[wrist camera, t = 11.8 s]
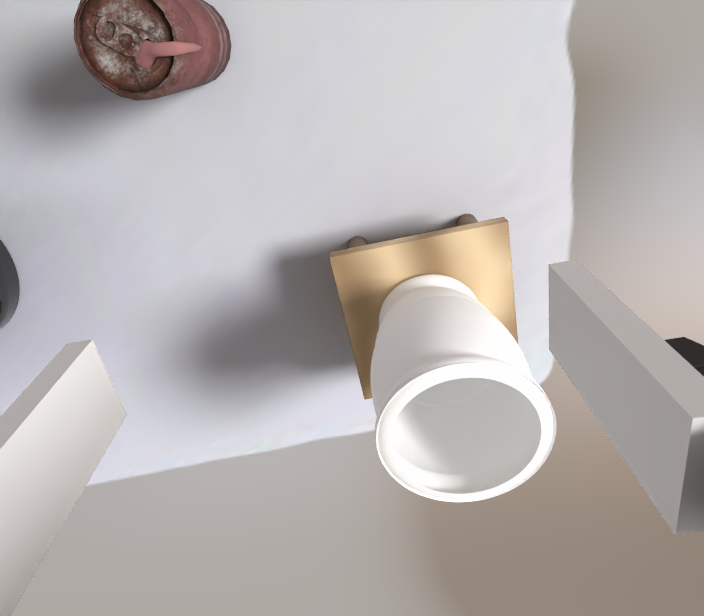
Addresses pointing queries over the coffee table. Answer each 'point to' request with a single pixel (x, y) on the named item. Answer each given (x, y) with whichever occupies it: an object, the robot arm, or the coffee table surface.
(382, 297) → the stool
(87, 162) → the coffee table surface
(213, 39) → the can
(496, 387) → the jar
